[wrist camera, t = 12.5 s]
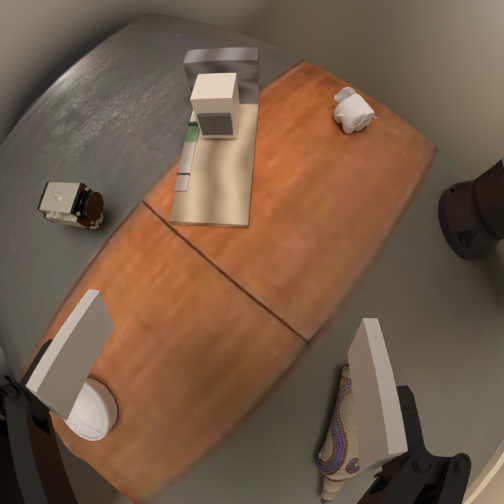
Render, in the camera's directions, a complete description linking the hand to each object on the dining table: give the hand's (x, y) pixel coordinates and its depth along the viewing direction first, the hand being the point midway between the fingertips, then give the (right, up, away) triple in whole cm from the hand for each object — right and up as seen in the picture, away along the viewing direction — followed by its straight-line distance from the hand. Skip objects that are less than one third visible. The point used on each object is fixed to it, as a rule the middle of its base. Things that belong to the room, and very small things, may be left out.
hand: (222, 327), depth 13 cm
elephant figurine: (+20, +28, +33) cm, 48 cm away
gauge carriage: (-5, +26, +31) cm, 41 cm away
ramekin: (-25, -22, +23) cm, 41 cm away
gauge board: (-4, +21, +32) cm, 39 cm away
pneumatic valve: (-27, +9, +30) cm, 41 cm away
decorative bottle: (+15, -25, +21) cm, 36 cm away
